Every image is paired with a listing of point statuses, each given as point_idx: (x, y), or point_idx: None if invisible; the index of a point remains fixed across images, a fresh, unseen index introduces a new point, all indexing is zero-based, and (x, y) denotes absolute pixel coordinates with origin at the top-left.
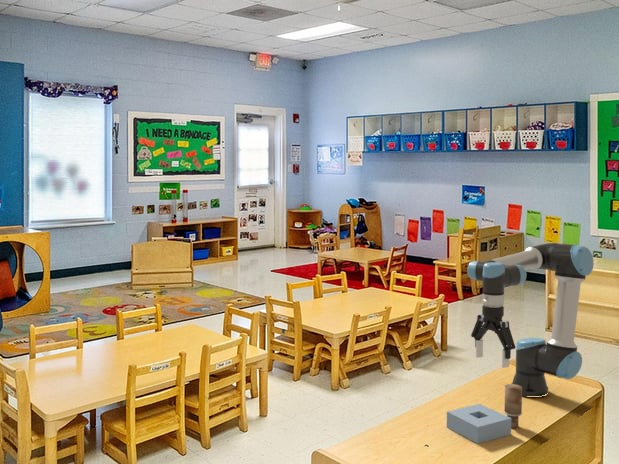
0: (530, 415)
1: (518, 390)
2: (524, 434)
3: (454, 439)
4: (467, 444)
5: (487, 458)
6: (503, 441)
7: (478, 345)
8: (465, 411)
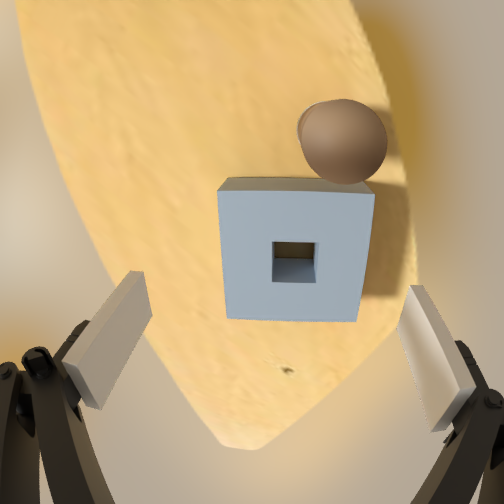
0: (279, 12)
1: (383, 152)
2: None
3: None
4: None
5: None
6: (376, 229)
7: (113, 371)
8: (252, 277)
